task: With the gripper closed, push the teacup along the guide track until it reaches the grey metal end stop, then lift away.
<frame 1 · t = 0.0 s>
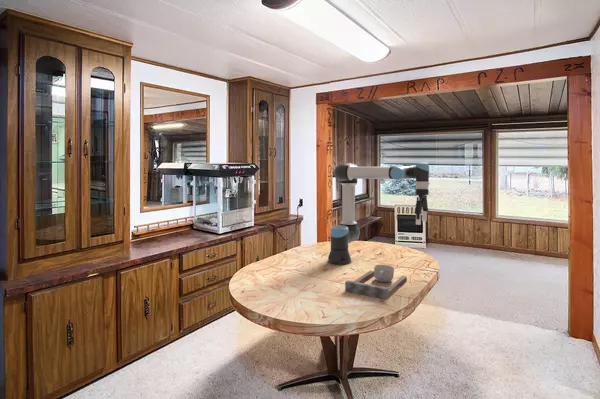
hand: (421, 223, 225), 28 cm above the table, tool pointing down, fingers open, 13 cm apart
guide track: (378, 285, 196), on the table
teacup: (382, 282, 202), on the table
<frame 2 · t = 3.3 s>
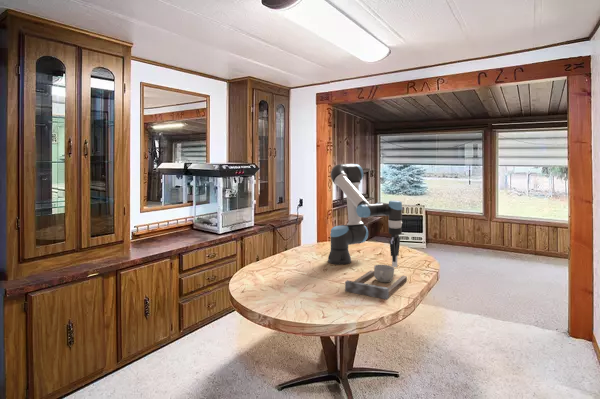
hand: (394, 266, 217), 4 cm above the table, tool pointing down, fingers closed
nothing on the table moved.
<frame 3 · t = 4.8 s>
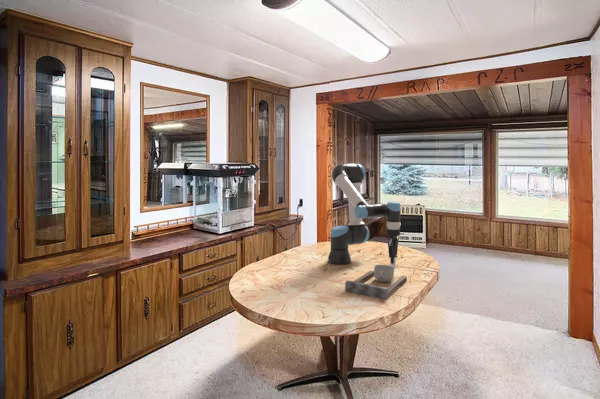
hand: (392, 268, 215), 3 cm above the table, tool pointing down, fingers closed
nothing on the table moved.
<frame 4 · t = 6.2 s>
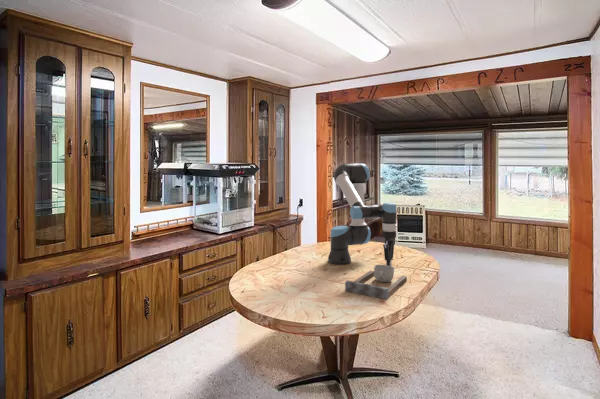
hand: (388, 271, 209), 4 cm above the table, tool pointing down, fingers closed
teacup: (382, 282, 202), on the table, touching gripper
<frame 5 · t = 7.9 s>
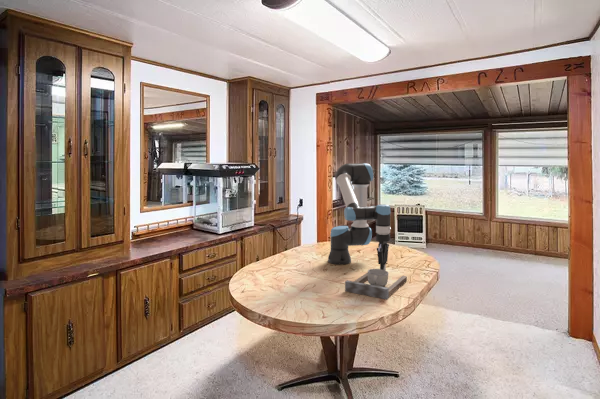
hand: (382, 275, 201), 4 cm above the table, tool pointing down, fingers closed
teacup: (376, 287, 194), on the table, touching gripper
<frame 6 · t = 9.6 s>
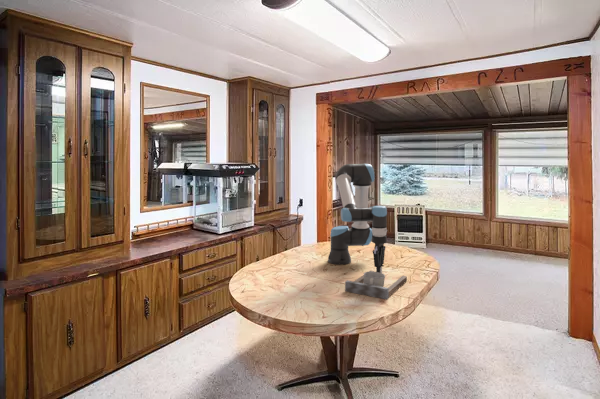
hand: (379, 278, 196), 3 cm above the table, tool pointing down, fingers closed
teacup: (373, 290, 189), on the table, touching gripper, guide track
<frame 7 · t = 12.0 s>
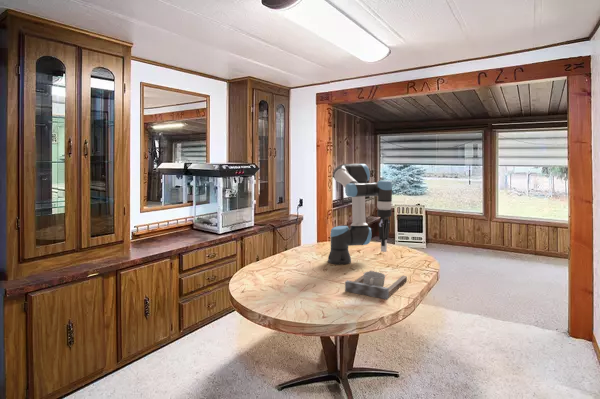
hand: (383, 251, 202), 17 cm above the table, tool pointing down, fingers closed
teacup: (373, 290, 189), on the table
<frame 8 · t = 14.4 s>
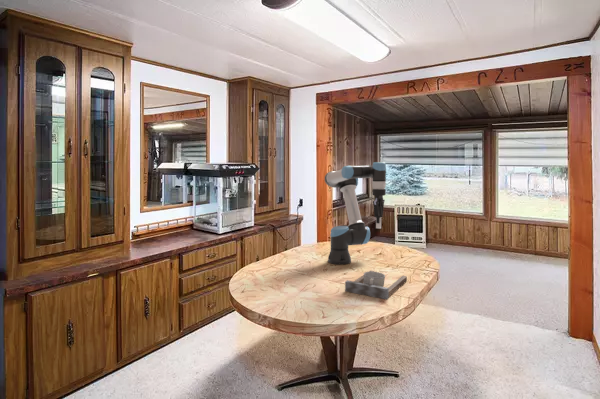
hand: (378, 228, 218), 26 cm above the table, tool pointing down, fingers closed
nothing on the table moved.
at the end: teacup inside the target area (0.4 cm from its centre), on the table; teacup tilted 0°; teacup moved 15.2 cm from its start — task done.
